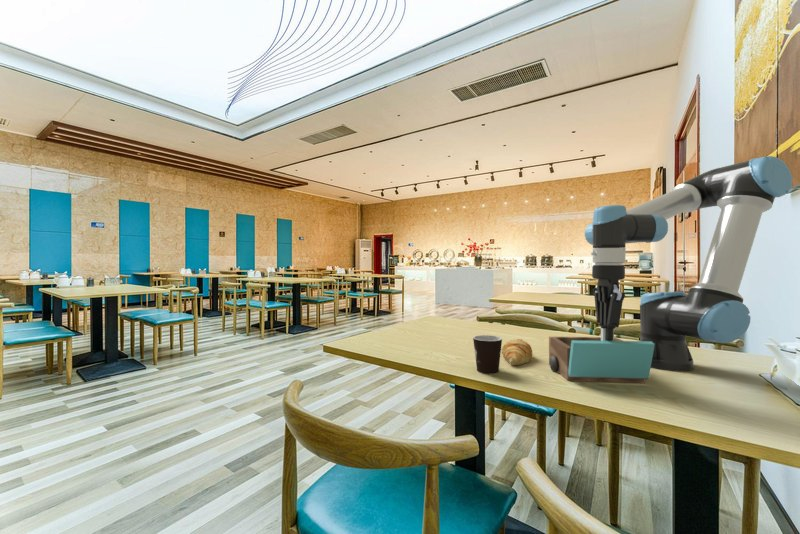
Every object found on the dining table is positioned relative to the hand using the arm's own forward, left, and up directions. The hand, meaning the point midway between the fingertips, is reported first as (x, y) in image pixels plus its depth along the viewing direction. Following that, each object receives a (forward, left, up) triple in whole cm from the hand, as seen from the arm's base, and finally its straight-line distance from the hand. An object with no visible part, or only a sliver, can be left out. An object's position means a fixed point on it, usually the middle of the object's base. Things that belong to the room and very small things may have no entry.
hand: (606, 351), depth 94 cm
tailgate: (0, -1, -7) cm, 7 cm away
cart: (0, -10, -9) cm, 13 cm away
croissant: (+19, -23, -9) cm, 31 cm away
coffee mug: (+30, -11, -9) cm, 33 cm away
